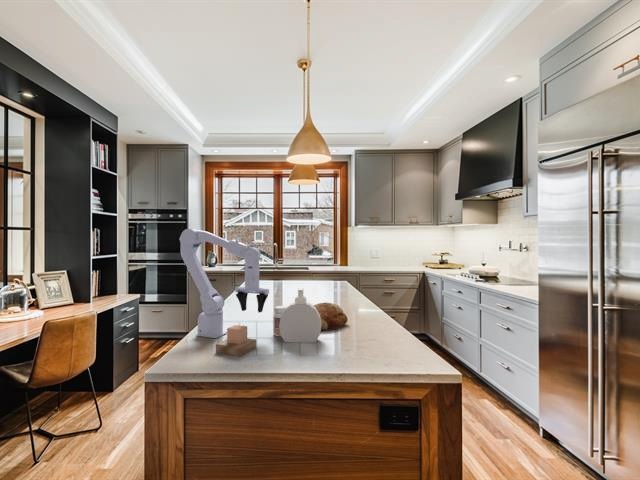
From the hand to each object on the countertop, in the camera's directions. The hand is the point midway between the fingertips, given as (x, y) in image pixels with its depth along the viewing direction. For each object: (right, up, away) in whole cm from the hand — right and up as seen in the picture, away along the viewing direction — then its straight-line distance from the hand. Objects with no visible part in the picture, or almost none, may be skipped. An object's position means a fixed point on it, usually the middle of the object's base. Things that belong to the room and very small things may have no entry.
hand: (252, 311), depth 148 cm
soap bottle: (+20, -10, -7) cm, 23 cm away
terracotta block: (-2, -7, -18) cm, 19 cm away
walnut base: (-2, -10, -18) cm, 21 cm away
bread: (+27, -10, +17) cm, 34 cm away
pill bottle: (+12, -10, +2) cm, 15 cm away
